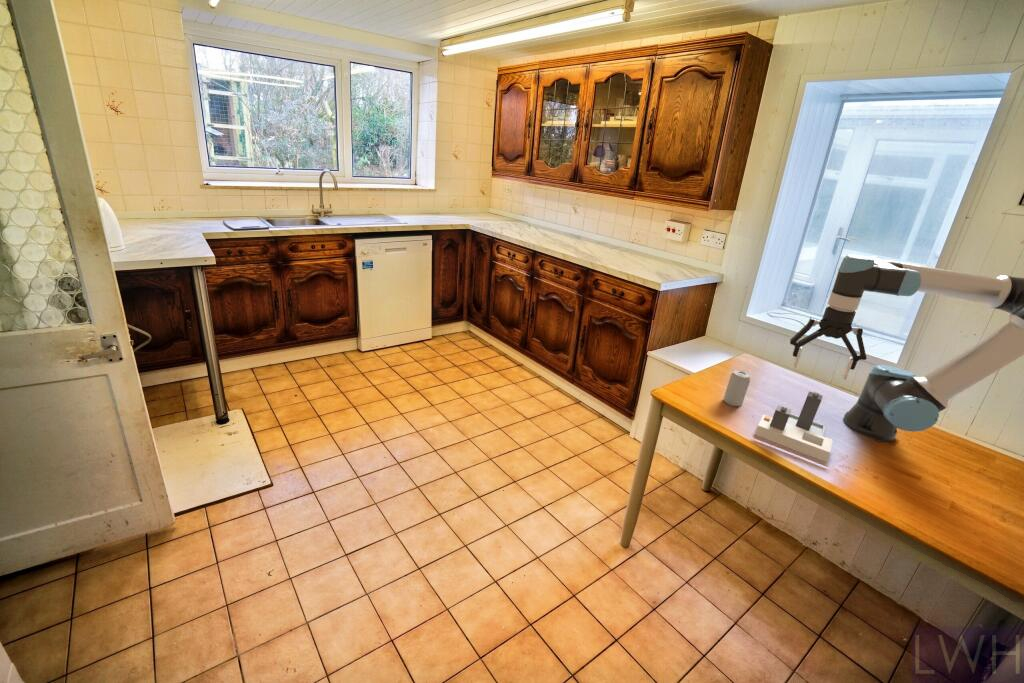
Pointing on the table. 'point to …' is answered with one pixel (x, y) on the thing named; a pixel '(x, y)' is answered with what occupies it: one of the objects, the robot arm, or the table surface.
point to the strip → (793, 435)
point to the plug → (809, 410)
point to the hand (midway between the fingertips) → (818, 371)
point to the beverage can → (737, 388)
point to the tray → (814, 427)
